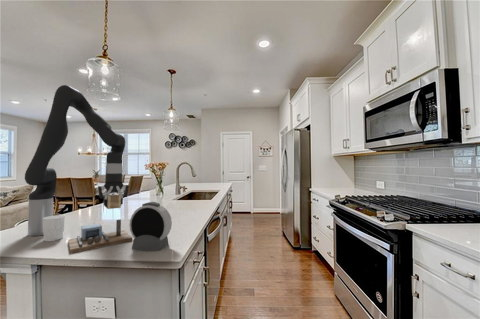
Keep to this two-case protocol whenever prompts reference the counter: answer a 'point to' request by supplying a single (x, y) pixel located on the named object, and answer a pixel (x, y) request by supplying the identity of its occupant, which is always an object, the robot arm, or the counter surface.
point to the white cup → (53, 227)
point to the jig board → (102, 242)
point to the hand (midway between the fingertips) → (113, 206)
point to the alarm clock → (150, 227)
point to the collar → (113, 201)
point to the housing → (91, 231)
